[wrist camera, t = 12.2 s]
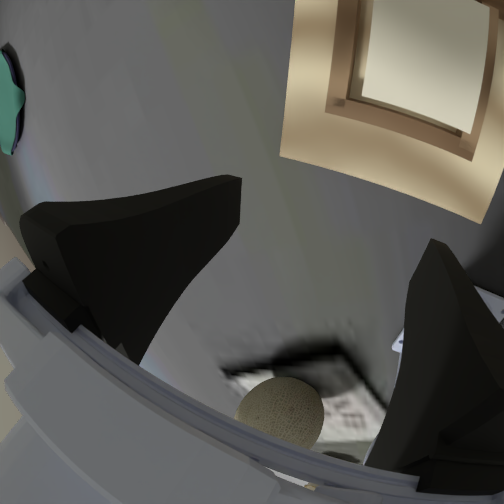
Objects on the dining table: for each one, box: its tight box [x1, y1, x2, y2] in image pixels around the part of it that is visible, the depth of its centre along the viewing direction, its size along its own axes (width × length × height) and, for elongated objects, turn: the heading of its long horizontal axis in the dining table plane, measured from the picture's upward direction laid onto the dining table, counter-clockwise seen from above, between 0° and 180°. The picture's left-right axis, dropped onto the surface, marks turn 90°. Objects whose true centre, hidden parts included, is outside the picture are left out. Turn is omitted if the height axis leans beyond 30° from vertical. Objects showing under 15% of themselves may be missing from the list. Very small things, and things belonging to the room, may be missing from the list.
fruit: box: [234, 377, 324, 450], centre depth 29 cm, size 10×12×15 cm
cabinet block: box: [362, 0, 490, 134], centre depth 8 cm, size 6×4×7 cm
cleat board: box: [280, 0, 504, 224], centre depth 10 cm, size 16×14×5 cm
